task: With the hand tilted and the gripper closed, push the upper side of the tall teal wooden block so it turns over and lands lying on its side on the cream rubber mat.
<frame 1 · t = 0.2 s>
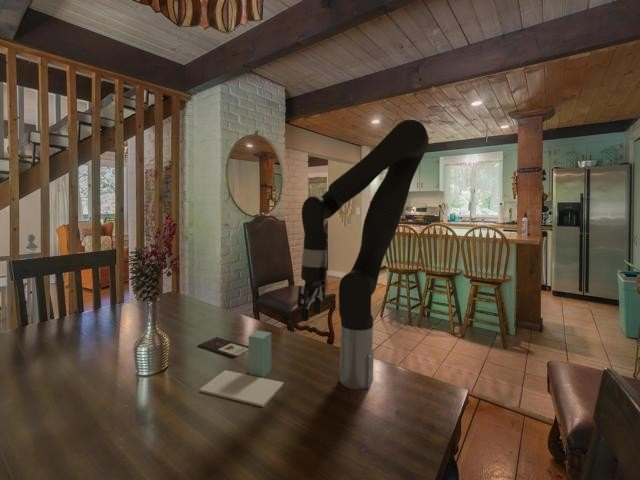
hand: (311, 316, 99), 18 cm above the table, tool pointing down, fingers open, 8 cm apart
cream mat: (242, 387, 93), on the table
teal block: (260, 371, 102), on the table
chocolate bar: (224, 349, 119), on the table
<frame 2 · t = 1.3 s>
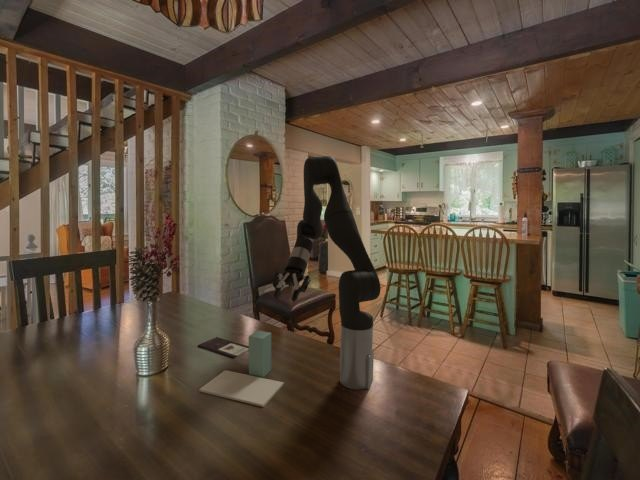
hand: (284, 299, 116), 18 cm above the table, tool tilted 45°, fingers open, 6 cm apart
nothing on the table moved.
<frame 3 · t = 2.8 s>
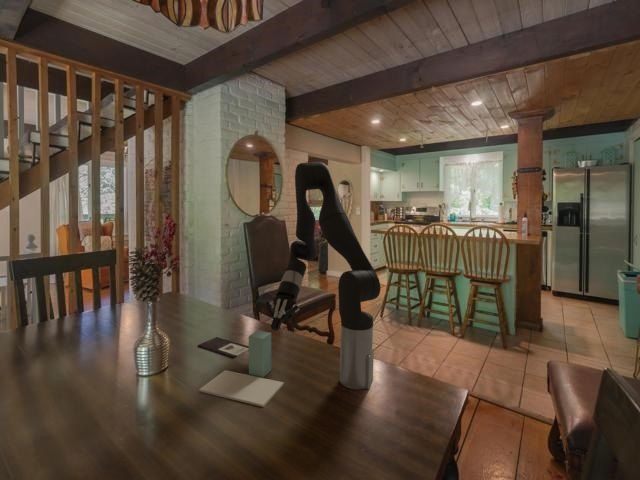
hand: (274, 329, 110), 10 cm above the table, tool tilted 45°, fingers closed
nothing on the table moved.
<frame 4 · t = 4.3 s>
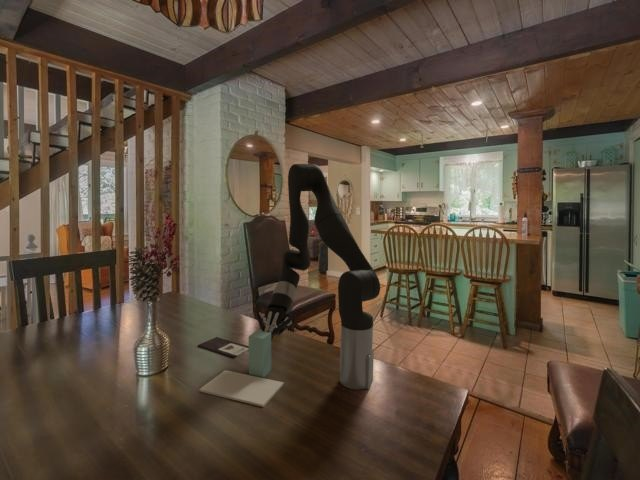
hand: (265, 344, 104), 7 cm above the table, tool tilted 45°, fingers closed
teal block: (260, 371, 102), on the table, touching gripper
everything else where it was.
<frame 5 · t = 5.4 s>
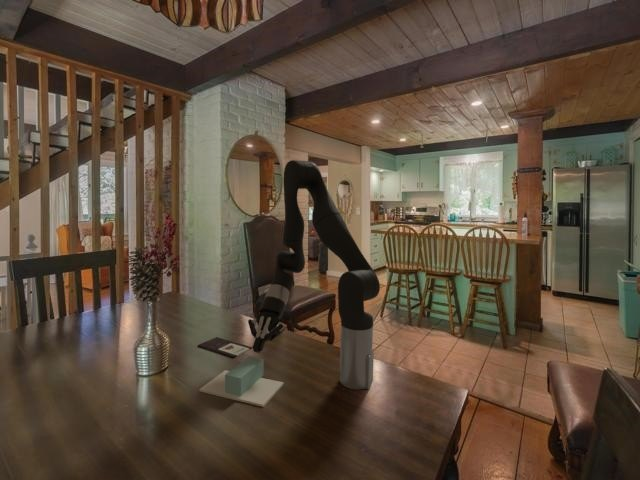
hand: (256, 351, 99), 7 cm above the table, tool tilted 45°, fingers closed
teal block: (256, 365, 99), point 3 cm above the table, tilted 90°, touching cream mat
everything else where it was.
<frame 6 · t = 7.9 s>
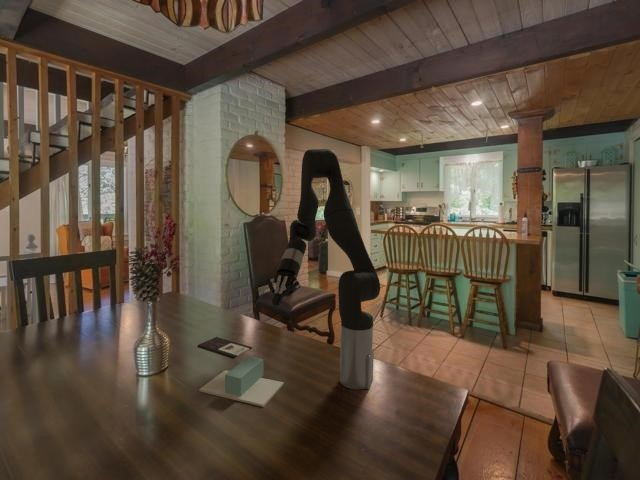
hand: (275, 305, 109), 18 cm above the table, tool tilted 45°, fingers closed
nothing on the table moved.
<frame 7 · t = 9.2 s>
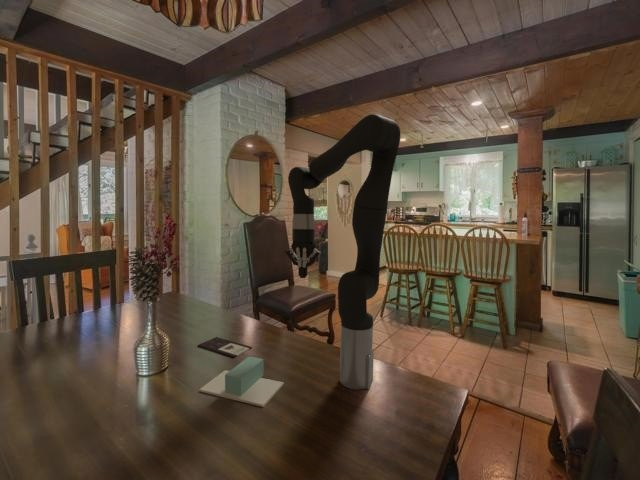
hand: (303, 277, 113), 27 cm above the table, tool pointing down, fingers closed
nothing on the table moved.
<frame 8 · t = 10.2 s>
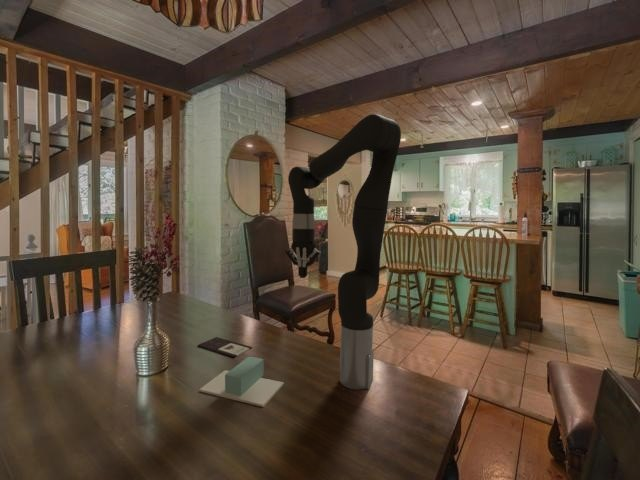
hand: (303, 277, 113), 27 cm above the table, tool pointing down, fingers closed
nothing on the table moved.
at the end: teal block tilted 90°; teal block touching cream mat; teal block inside the target area (1.6 cm from its centre), point 3.1 cm above the table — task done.
